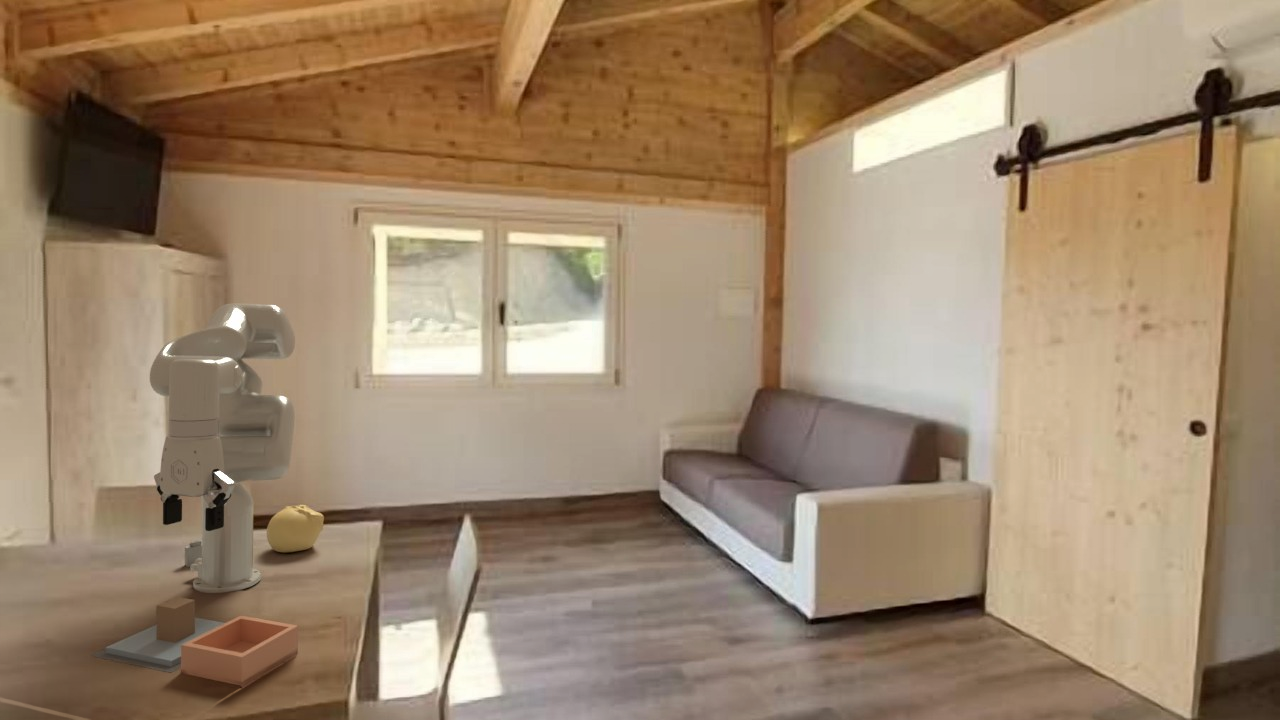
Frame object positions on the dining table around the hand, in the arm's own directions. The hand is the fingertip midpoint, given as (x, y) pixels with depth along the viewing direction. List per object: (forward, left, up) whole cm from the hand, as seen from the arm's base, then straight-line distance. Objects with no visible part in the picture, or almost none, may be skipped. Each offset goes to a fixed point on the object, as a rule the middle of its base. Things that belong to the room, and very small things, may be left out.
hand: (193, 526), depth 125 cm
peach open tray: (+14, -4, -21) cm, 26 cm away
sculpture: (-19, +46, -21) cm, 54 cm away
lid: (-2, -2, -20) cm, 20 cm away
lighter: (-31, +31, -21) cm, 48 cm away
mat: (-2, -2, -21) cm, 21 cm away
